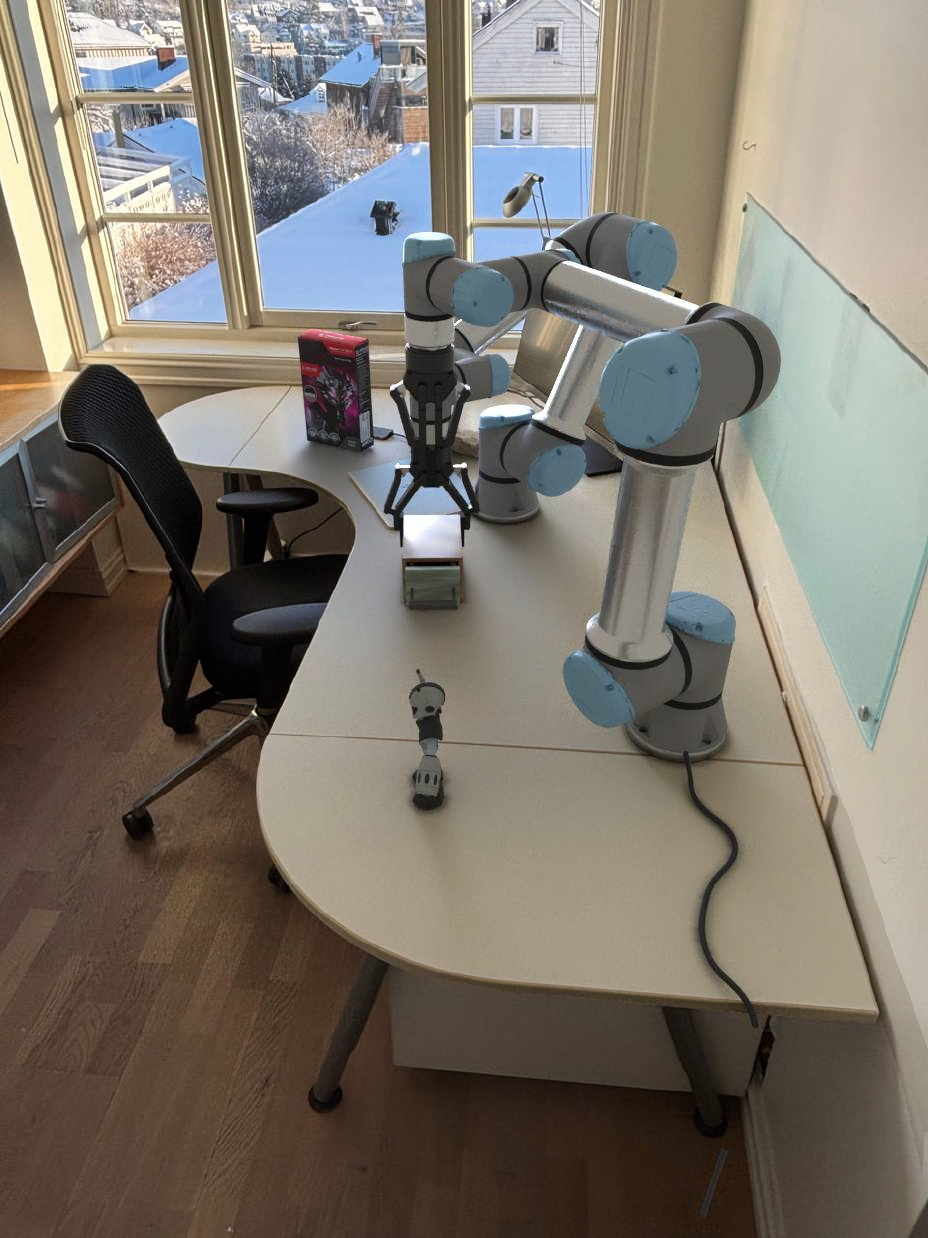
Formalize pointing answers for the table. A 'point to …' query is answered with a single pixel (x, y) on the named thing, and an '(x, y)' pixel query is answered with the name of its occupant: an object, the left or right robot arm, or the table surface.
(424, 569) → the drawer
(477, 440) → the stone
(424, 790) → the robot
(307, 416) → the graphics card box
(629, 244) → the left robot arm
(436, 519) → the cabinet
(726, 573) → the table surface
